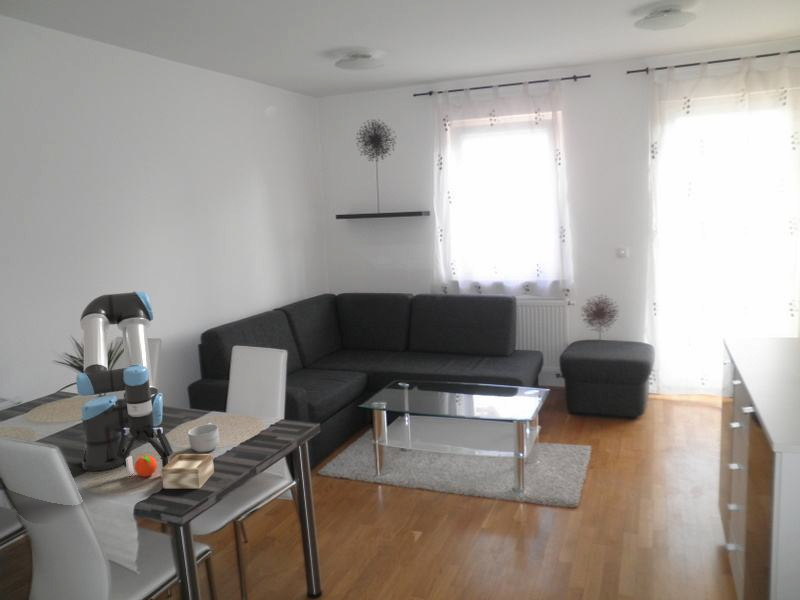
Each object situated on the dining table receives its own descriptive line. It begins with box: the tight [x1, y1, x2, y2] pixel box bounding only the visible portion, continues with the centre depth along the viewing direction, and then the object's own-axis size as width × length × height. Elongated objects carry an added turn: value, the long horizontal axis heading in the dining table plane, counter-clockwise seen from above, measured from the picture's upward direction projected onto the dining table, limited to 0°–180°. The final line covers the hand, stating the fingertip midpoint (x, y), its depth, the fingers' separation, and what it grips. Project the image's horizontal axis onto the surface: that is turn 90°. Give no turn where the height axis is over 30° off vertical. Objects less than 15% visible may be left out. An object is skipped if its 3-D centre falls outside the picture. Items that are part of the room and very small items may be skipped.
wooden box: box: [161, 453, 215, 489], centre depth 206 cm, size 12×12×6 cm
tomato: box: [134, 454, 158, 477], centre depth 211 cm, size 8×7×7 cm
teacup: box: [187, 422, 220, 454], centre depth 233 cm, size 14×11×8 cm
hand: (147, 475), depth 211 cm, fingers open, 11 cm apart
